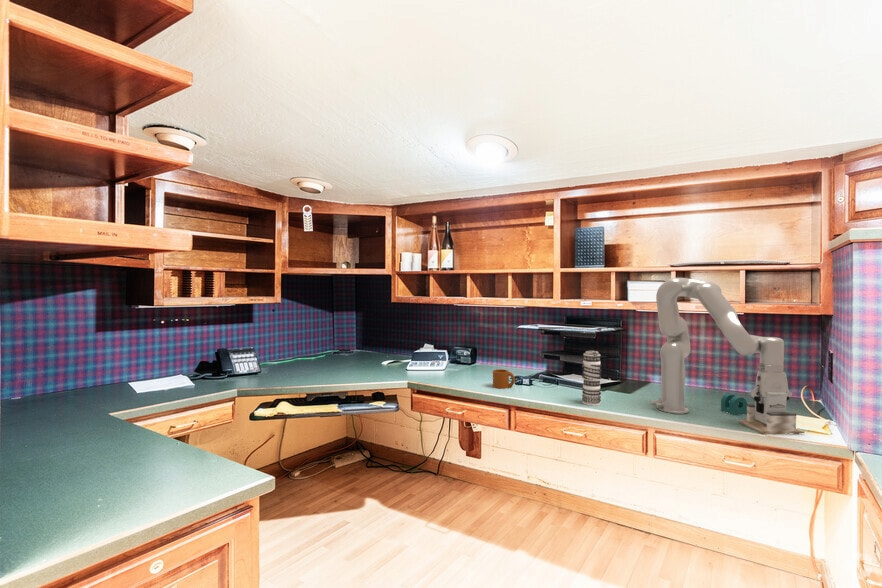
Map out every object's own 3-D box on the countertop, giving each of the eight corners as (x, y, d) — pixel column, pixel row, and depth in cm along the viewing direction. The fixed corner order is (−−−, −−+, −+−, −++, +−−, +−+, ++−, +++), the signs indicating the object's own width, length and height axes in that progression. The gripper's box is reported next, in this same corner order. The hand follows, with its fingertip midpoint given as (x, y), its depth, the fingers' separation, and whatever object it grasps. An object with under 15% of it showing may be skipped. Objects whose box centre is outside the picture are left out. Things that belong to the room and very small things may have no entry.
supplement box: (767, 425, 167) (767, 392, 167) (754, 418, 175) (754, 388, 174) (786, 425, 167) (787, 393, 166) (772, 419, 174) (773, 388, 174)
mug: (511, 390, 231) (511, 373, 230) (490, 388, 236) (490, 371, 236) (516, 386, 239) (516, 370, 238) (495, 384, 244) (495, 368, 244)
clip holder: (762, 433, 164) (762, 413, 164) (738, 422, 177) (739, 404, 177) (804, 434, 164) (804, 413, 164) (777, 422, 177) (778, 404, 177)
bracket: (733, 415, 187) (733, 397, 187) (720, 411, 194) (721, 393, 194) (769, 413, 190) (769, 396, 190) (755, 409, 197) (755, 392, 196)
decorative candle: (603, 402, 208) (604, 350, 207) (599, 406, 200) (599, 353, 199) (584, 399, 212) (584, 349, 212) (579, 403, 205) (579, 351, 204)
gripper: (756, 370, 166) (755, 415, 167) (801, 370, 166) (800, 415, 167) (742, 366, 174) (741, 409, 174) (785, 366, 174) (784, 409, 174)
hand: (770, 412), depth 171 cm, fingers closed on supplement box, 7 cm apart
